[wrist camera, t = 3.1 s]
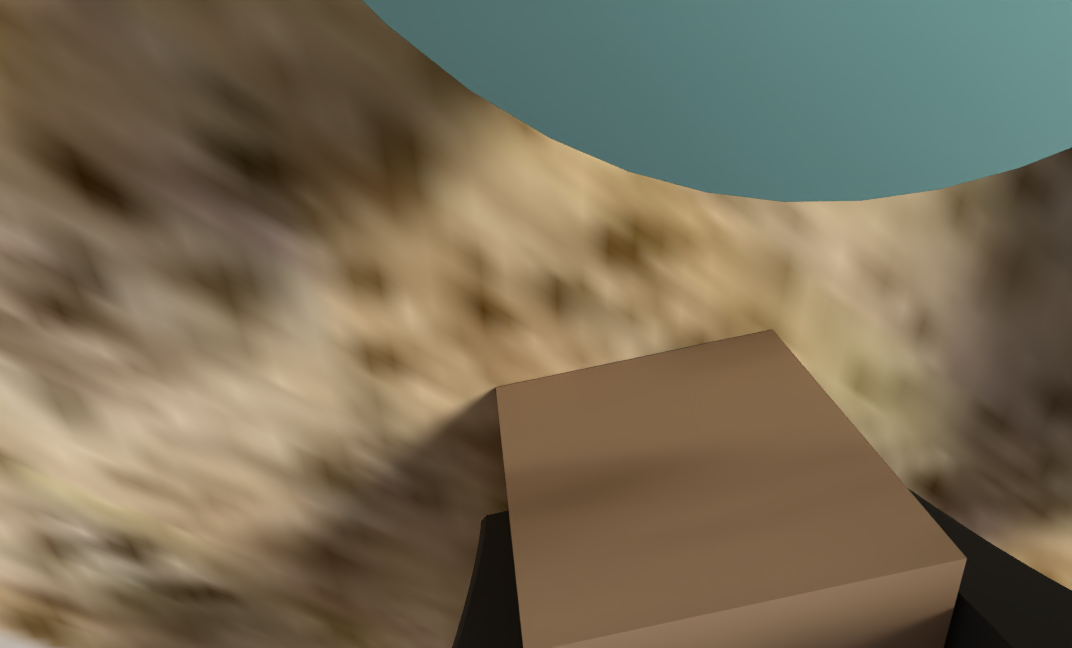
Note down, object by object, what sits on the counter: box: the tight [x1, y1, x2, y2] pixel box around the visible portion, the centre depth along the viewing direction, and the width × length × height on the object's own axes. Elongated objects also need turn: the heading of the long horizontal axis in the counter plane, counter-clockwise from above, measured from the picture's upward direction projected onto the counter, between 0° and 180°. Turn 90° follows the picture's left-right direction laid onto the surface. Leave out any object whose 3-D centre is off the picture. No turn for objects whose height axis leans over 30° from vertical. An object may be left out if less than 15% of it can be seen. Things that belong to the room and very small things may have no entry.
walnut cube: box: [496, 330, 967, 648], centre depth 11 cm, size 5×5×5 cm
